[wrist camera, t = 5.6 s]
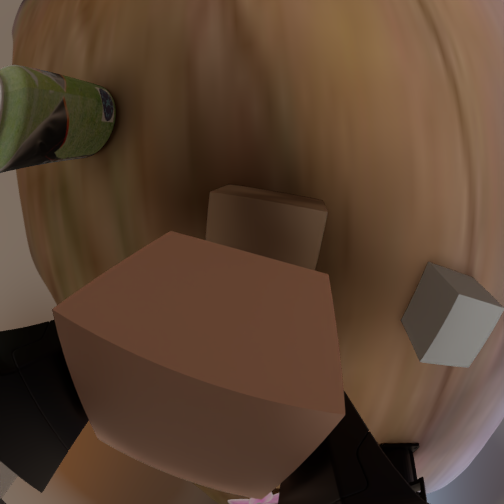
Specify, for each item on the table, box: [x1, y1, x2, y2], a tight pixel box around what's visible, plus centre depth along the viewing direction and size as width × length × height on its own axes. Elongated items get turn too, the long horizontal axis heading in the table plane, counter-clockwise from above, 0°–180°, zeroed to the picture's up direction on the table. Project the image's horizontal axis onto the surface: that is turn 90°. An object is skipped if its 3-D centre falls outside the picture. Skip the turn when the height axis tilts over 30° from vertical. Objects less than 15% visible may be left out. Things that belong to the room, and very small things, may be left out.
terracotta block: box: [52, 231, 345, 500], centre depth 7 cm, size 5×5×5 cm
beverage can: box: [0, 65, 116, 173], centre depth 11 cm, size 6×7×12 cm
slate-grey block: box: [401, 262, 504, 367], centre depth 15 cm, size 5×5×5 cm
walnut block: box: [205, 184, 328, 270], centre depth 16 cm, size 6×6×4 cm
